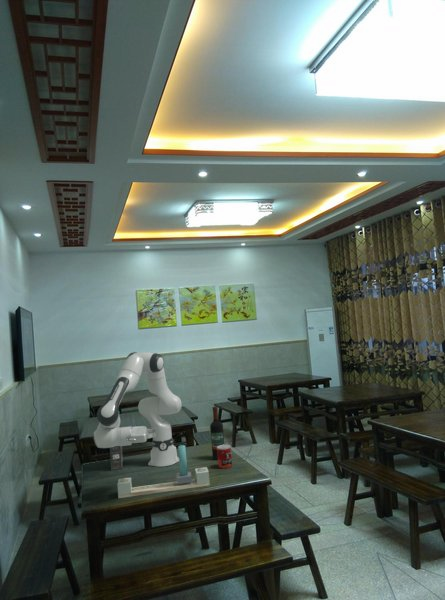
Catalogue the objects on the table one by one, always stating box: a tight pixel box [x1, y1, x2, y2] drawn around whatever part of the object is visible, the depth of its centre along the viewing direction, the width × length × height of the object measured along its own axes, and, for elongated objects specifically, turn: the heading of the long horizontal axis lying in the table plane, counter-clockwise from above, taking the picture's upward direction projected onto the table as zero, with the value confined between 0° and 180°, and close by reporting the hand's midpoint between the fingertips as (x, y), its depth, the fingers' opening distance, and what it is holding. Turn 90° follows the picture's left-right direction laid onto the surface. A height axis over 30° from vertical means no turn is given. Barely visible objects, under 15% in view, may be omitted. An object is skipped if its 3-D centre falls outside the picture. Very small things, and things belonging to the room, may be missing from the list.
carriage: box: [176, 444, 193, 484], centre depth 225 cm, size 7×7×17 cm
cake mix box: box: [109, 410, 124, 472], centre depth 272 cm, size 22×6×30 cm, turn 12°
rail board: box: [116, 466, 211, 499], centre depth 223 cm, size 8×44×7 cm, turn 99°
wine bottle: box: [209, 406, 225, 461], centre depth 267 cm, size 8×8×30 cm
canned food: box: [217, 444, 233, 470], centre depth 250 cm, size 8×8×11 cm
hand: (155, 432), depth 224 cm, fingers open, 8 cm apart
